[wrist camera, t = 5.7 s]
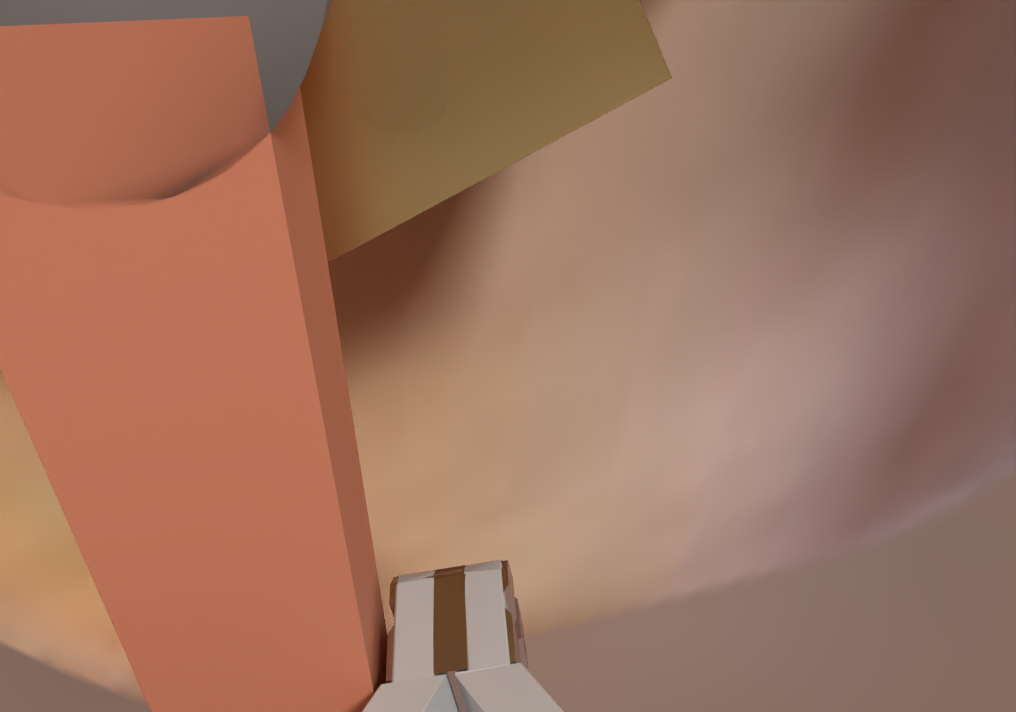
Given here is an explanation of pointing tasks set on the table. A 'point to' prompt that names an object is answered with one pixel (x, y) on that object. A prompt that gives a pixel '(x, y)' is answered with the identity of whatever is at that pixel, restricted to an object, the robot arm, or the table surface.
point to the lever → (187, 344)
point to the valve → (456, 96)
